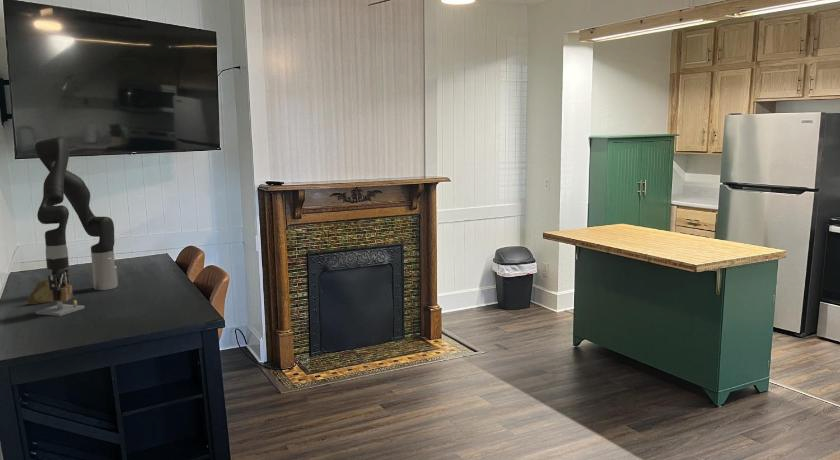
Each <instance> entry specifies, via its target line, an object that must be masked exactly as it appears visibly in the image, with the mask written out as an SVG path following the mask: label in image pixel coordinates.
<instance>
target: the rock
mask: <svg viewBox="0 0 840 460" xmlns="http://www.w3.org/2000/svg"><path fill="white" fill-rule="evenodd" d="M48 289H50V287H49V279H43V280H42V281H39V282H38V283H37V284H36V286H35V287H34V289H33V290H32V292H31V293H30V294H29V297H28V302H27V303H28V305H38V304H39V305H40V304H45V303H46V304H47V303H50V302H49V297H48Z"/></svg>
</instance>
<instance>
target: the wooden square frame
mask: <svg viewBox="0 0 840 460" xmlns="http://www.w3.org/2000/svg"><path fill="white" fill-rule="evenodd" d="M72 286H73V285H71V284H70V285H69V284H67V285H65V286H60V298H61V299H60V300H54V296H53V291H52V290H50V289H48V297H49V302H48V303H53V302H54V303H55V302H56V303H57V302H58V301H63V302H67V301H69V300H71V299H73V298H74V297H73V296H74V295H73V287H72Z"/></svg>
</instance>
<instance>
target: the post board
mask: <svg viewBox="0 0 840 460" xmlns="http://www.w3.org/2000/svg"><path fill="white" fill-rule="evenodd" d="M63 302H64V301H58V302H56V304H55V305H53V306H49V307H46V308H42V309H39V310H36V311H35V314H36V315H45V316H57V317H61V316H64V315H67V314H71V313H73V312H76V311H80V310H84V309H85V305H78V303H77V302H78V301H77V300H72V303H73V304H68V303H67V304H65V303H63Z"/></svg>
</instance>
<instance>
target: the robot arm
mask: <svg viewBox="0 0 840 460" xmlns="http://www.w3.org/2000/svg"><path fill="white" fill-rule="evenodd" d="M34 150H35V153H36V155H37V157H38V159H39V160H40V162H41V163H42V164H43V165H44V166H45V168H46V169H47V170H48V172H49V173H48V174H47V176H46V177H45V179H44V182H43V186H42V187H43V192H42V193H43V194H42V200H41V203H40V206H39V208H38V211H37V215H36V216H37V217H36V218H37V220H38V222H39V223H40V224H43V225H55V224H58V226H57V227H56V228H52V229H49V230H46V231H45V232H44V240H45V241H44V242H45V243H44V244H45V261H46V269H47V270H51V274H50V275H47V276H48V277H47V278H48V279H47V280H49V287H50V290H52V291H53V296H54V300H60V299H61V298H60V286H65V285H69V284H70V281H69V280H70V277H69V276H70V275H69V274H70V273H69V269H68V268H69V266H70V265H69V264H70V262H69V253H68V251H69V250H68V246H67V237H66V233H67V225H68V222H69V221H68V219H69V216H70V212H69V211H70V210H69V209H68V207H67V206H66V205H60V204H62V203H63V202H64V196H65V198H66V199H67V200H68V202H69V203H70V205H71V207H72V209H73V210H74V212H75V213H76V215H77V217H78V219H79V221H80V223H81V225H82V227H83V230H84V232H85V233H86V234H87V235H88V236H90V237H93V238H98V237H99V239H98V242H96V243H95V244H92V245H91V246H90V255H91V266H92V279H93V289H94V290H96V291H107V290H112V289H113V290H114V289H116V288H117V287H119V282H118V270H117V269H118V268H117V265H116V264H115V252H114V248H115V247H114V246H115V223H114V220H113V219H112V218H111V217H109V216H97V215H95V214H94V213H93V212H92V210H91V208H90V204H91V203H90V202H91V192H90V190H89V188H88V186H87V185H86V183H85V182H84V180H83V179H82V178H81V177H80V176H78V175H77V174H75V173H73V172H72V171H69V170H67V168H68V163H69V158H70V148H69V144H68V143H67V141H66V140H65V139H64V137H60V136H58V137H52V138H47V139H44V140H39V141H37V142H36V143H35V145H34Z"/></svg>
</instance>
